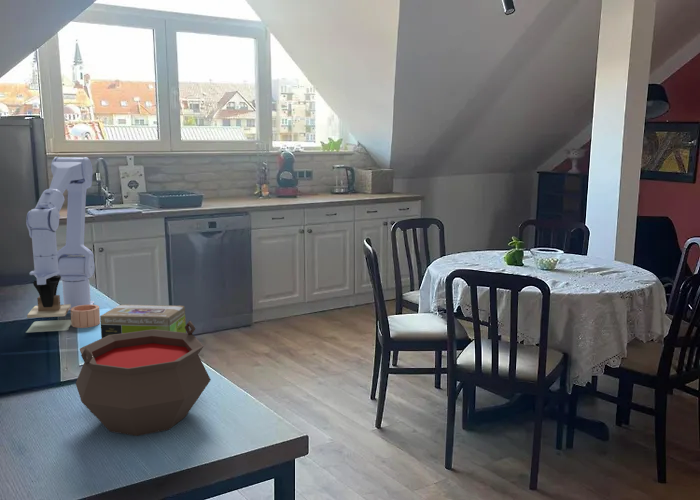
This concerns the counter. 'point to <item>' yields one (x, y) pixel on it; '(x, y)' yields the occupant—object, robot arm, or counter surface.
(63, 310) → the lid
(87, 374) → the brown cauldron
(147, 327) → the tea box
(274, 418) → the counter surface
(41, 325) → the mat
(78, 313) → the cup
